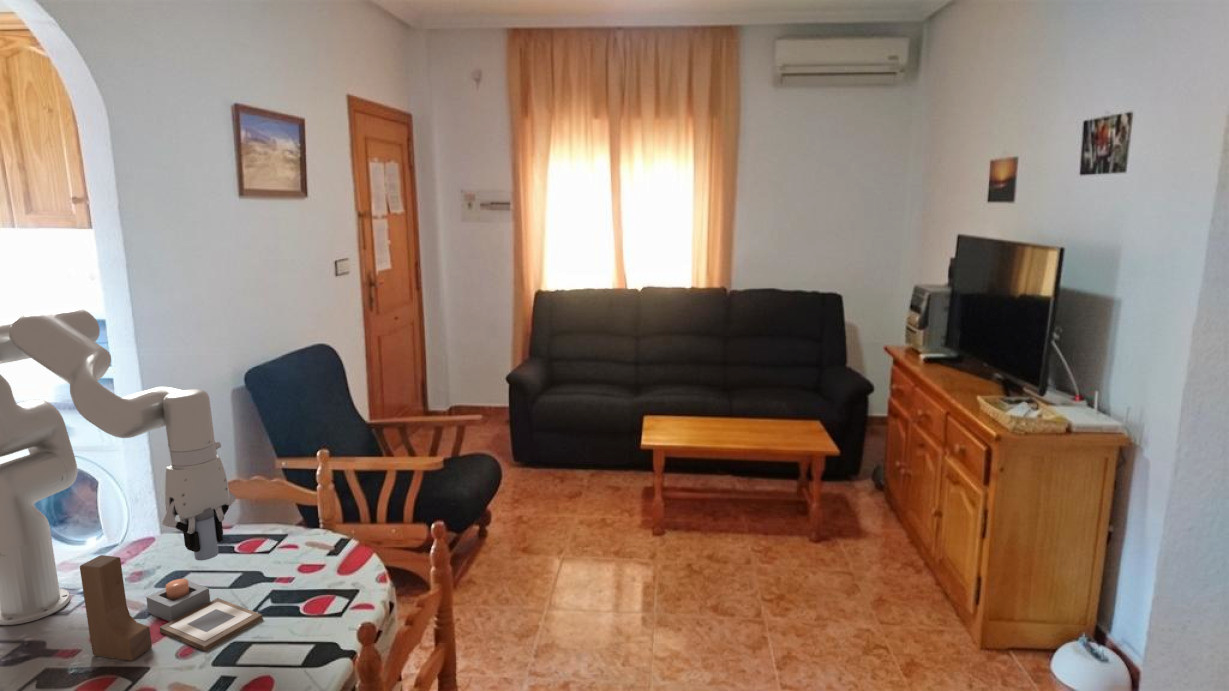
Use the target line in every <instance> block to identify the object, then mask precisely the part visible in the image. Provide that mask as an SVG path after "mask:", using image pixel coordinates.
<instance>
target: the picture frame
mask: <svg viewBox="0 0 1229 691" xmlns="http://www.w3.org/2000/svg"><path fill="white" fill-rule="evenodd" d="M263 618H264V617H263V614H261V613H259V612H256V611H254V610H250V609H248V608H246V607H243V606H241V605H237V604H235V603H233V602H229V601H226V600H224V599H221V598H220V597H219V598H218V597H217V598H214V599H212V600H210V602H209V603H207V604H205V605H203V606H201V607H199V608H197V609H195V610H193V611H191V612H189V613H187V614H185V615H183V616H181V617H179V618H177V619H175V620H173V621H171V622H169V621H168V622H167V623H165V624H163V625H161V626H159V633H161V634H164V635H167V636H169V637H171V638H173V639H176V640H178V641H180V642H183V643H185V644H187V645H190V646H192V647H194V648H197V649H199V650H201V651H203V652H206V651H209V650H210V649H213V648H214V647H216V646H218V645H219V644H221V643H222V642H224V641H227V640H229V639H230V638H232V637H234V636H235V635H237V634H239V633H241V632H242V631H244V630H246V629H247V628H250V627H251V626H253V625H255V624H257V623H258V622H260V621H262V620H263Z"/></svg>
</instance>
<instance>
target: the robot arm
mask: <svg viewBox="0 0 1229 691" xmlns="http://www.w3.org/2000/svg"><path fill="white" fill-rule="evenodd" d="M100 332H101V331H100V325H99V322H98V321H97V319H96V318H95V317H94V316H93V314H91V313H90V312H88V311H87V310H85V309H84V308H83V309H82V308H80V307H76V306H75V307H72V306H70V307H69V306H68V307H61V308H60V307H59V308H54V309H53V308H52V309H46V310H38V311H33V312H29V313H26V314H24V315H21V316H16V317H9V318H1V319H0V364H6V363H12V362H17V361H21V360H27V359H32V360H34V361H35V362H37V363H38V364H40V365H41V366H43V367H44V368H46V369H47V370H49V371H50V372H52V373H53V374H55V375H56V376H57V377H58V378H61V380H64V381H65V382H66V383H67V384H69V393H70V397H71V400H72V403H73V405H74V407H75V409H76V411H78V414H79V415H81V417H82V418H83V419H85V420H86V421H88V422H89V423H90V424H92V425H93V426H95V427H97V428H98V429H100V430H101V431H103V432H104V433H106V434H108V435H111V436H113V437H116V438H120V439H131V438H134V437H138V436H140V435H143V434H145V433H148V432H151V431H154V430H156V429H160V428H163V427H165V431H166V438H167V439H166V440H167V445H168V447H167V448H168V452H169V459H170V465H168V466H166V469H165V475H164V499H165V500H164V502H165V504H164V505H165V511H166V514H165V516H164V518H163V521H162V523H161V524H162V525H163V526H164V527H170V528H174V529H176V530H179V531H180V532H183V533H182V534H183V541H184V546H185V548H186V549H187V551H191V552H193V553H194V552H198V551H200V544H199V536H198V532H196V531H195V516H197V515H199V514H201V513H203V511H204V510H205V509H208V508H211V509H214V521H215V529H216V537H217V543H221V542H223V541H224V536H223V535H224V529H223V528H224V526H223V521H224V520H225V515H226V513H227V512H228V510H229V509H230V507H231V506H232V505H233V503H235V501H237V500H236V499H237V496H235V495H234V494H233V493H232V492H231V491H230V488H229V485H228V484H229V483H228V478H227V474H226V471H225V470H226V469H225V468H224V464H223V462H222V459H221V457H220V456H219V455H218V449H221V447H222V443H221V442H220V441H215V433H214V424H213V417H212V410H211V409H212V408H211V401H210V400H211V399H210V396H209V394H208V392H206V391H205V390H203V389H198V388H197V389H195V388H194V389H193V388H189V389H181V388H175V387H170V386H156V387H153V388H149V389H145V390H141V391H137V392H134V393H131V394H127V395H124V396H122V397H121V396H118V395H117V394H115V393H114V392H112V391H110V390H109V389H108V388H106V387H105V386H103V385H102V384H101V383H100V382H99V381H100V380H101V379H102V377H104V375H105V374H106V373H107V372H108V370H109V368H110V365H111V362H112V355H111V353H110V351H108V349H106V347H104V346H102V345H100V344H99V343H97V340H98V339H99V337H100ZM13 393H14V392H13V390H12V387H11V384H10V383H9V382H8V381H7V379H5V377H4V376H3V375H2V374H0V458H2V457H5V456H9V455H13V454H17V453H18V452H21V451H24V450H28V453H29V454H27V455H24V456H22V457H18V458H15V459H12V460H8V461H6V462H3V463H0V626H13V625H15V626H16V625H20V624H25V623H26V624H27V623H30V622H31V623H32V622H33V621H38V620H40V619H43V618H46V617H48V616H50V615H53V614H54V613H56V612H58V611H60V610H61V609H63V608H64V607H65V606H66V605H67V604H68V603H69V602H70V600H71V595H70V592H69V591H68V590H67V589H65V588H60V585H59V578H58V571H57V566H56V565H57V564H56V558H55V553H54V545H53V539H52V532H51V527H50V524H49V520H48V518H47V517H46V516H45V515H44V513H42V512H41V511H40V510H39V509H37V507H36V505H35V504H36V503H37V502H39V501H41V500H43V499H46V498H48V497H51V496H53V495H55V494H58V493H60V492H62V491H65V490H67V489H68V488H69V487H71V486H72V485H73V484H74V483H75V481H76V480H77V477H78V464H77V461H76V456H75V453H74V450H73V447H72V443H71V440H70V436H69V433H68V429H67V426H66V423H65V421H64V420H65V419H64V418H63V416H62V414H61V412H60V411H59V410H58V409H57V407H55V405H53V404H52V403H50V402H49V401H46V400H42V399H29V400H25V401H24V400H23V401H19V402H16V400H15V399H16V398H15V397H14V394H13ZM177 516H178V517H179V521H178V520H176V517H177Z"/></svg>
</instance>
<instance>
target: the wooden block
mask: <svg viewBox="0 0 1229 691" xmlns="http://www.w3.org/2000/svg"><path fill="white" fill-rule="evenodd" d="M79 570H80V571H79V572H80V578H81V585H82V586H81V587H82V592H83V593H82V594H83V599H84V605H85V611H86V619H87V624H88V634H89V640H90V645H91V646H90V647H91V653H92V655H93V656H95V657H102V658H111V659H117V660H122V661H123V660H124V661H128V662H129V661H130V662H133V661H135V660H136V659H137V658H139V657H140V656H142V655H143V654H145V653H146V652H147V651H149V650H151V649H152V647H153V645H152V644H153V643H152V637H151V629H150V627H149V625H146V624H142V623H140V622H138V621H136V619H135V618H133V617H132V615H131V613H130V611H129V608H128V604H127V598H126V589H125V583H124V576H123V569H122V560H121V557H119V556H111V555H105V554H104V555H103V554H101V555H100V554H99V555H98V556H97V557H95V558H92V559H91V560H89V561H87V562H84V563H82V564H80V566H79Z"/></svg>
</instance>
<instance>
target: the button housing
mask: <svg viewBox="0 0 1229 691" xmlns="http://www.w3.org/2000/svg"><path fill="white" fill-rule="evenodd" d="M188 584H189V594H187V595H185V596H183V597H181V598H179V599H177V600H169V599H167V595H166V587H164V588H163V589H161V590H159V591H156V592H154V593H153V594H150V595H148V596H146V605H147V612H148V614H151V615H152V616H155V617H157V618H160V619H163V620H164V621H168V623H169V622H171V621H173V620H175V619H177V618H179V617H181V616H183V615H185V614H187V613H189V612H191V611H193V610H195V609H197V608H199V607H201V606H203V605H205V604H207V603H209V602H211V596H210V595H211V594H210V588H209V587H207V586H204V585H202V584H200V583H199V584H198V583H196V582H194V581H191V580H188Z"/></svg>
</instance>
